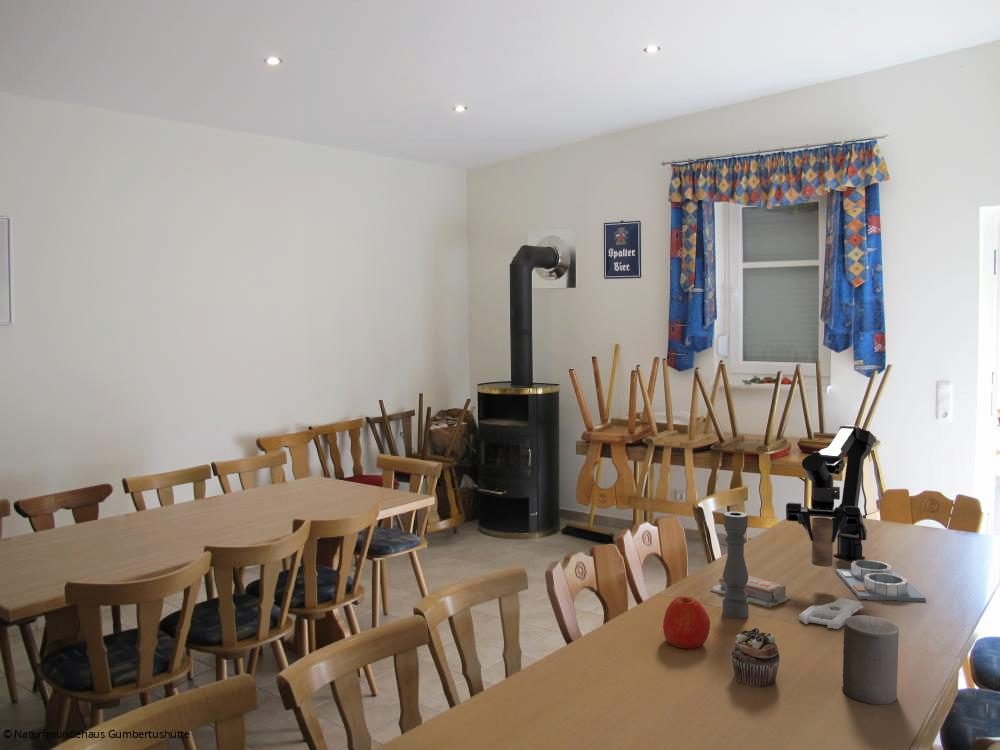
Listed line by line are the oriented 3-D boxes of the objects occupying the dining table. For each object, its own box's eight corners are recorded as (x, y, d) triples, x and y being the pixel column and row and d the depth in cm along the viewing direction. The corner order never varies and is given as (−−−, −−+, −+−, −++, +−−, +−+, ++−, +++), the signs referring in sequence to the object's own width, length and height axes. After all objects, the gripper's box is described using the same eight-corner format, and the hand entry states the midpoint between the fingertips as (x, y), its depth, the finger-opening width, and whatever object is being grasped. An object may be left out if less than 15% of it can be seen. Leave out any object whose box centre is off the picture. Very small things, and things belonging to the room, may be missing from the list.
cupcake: (788, 678, 163) (789, 629, 162) (764, 693, 156) (765, 643, 156) (745, 664, 170) (746, 617, 169) (721, 678, 163) (721, 630, 163)
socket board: (835, 572, 231) (835, 558, 231) (895, 574, 228) (895, 560, 228) (859, 599, 208) (859, 584, 208) (925, 601, 206) (925, 586, 206)
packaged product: (791, 582, 209) (770, 590, 203) (791, 600, 210) (770, 609, 203) (731, 567, 223) (709, 574, 217) (730, 584, 223) (709, 592, 217)
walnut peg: (807, 562, 219) (807, 518, 218) (821, 559, 221) (822, 516, 220) (822, 567, 214) (822, 523, 213) (836, 564, 216) (837, 520, 215)
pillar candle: (833, 693, 156) (835, 617, 155) (854, 677, 163) (856, 604, 162) (886, 710, 149) (888, 631, 148) (905, 693, 156) (907, 617, 155)
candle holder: (726, 608, 203) (726, 510, 202) (751, 612, 200) (751, 512, 199) (719, 616, 198) (719, 515, 196) (744, 620, 195) (745, 518, 193)
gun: (825, 589, 206) (866, 599, 199) (825, 602, 206) (866, 612, 199) (795, 612, 193) (837, 623, 186) (795, 626, 193) (837, 637, 186)
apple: (714, 639, 184) (714, 594, 183) (701, 655, 175) (701, 608, 174) (671, 631, 189) (671, 587, 188) (656, 646, 180) (656, 600, 179)
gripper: (786, 473, 223) (784, 522, 213) (860, 477, 216) (862, 527, 207) (787, 495, 231) (785, 543, 221) (858, 500, 224) (860, 549, 214)
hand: (822, 540), depth 216 cm, fingers closed on walnut peg, 5 cm apart
